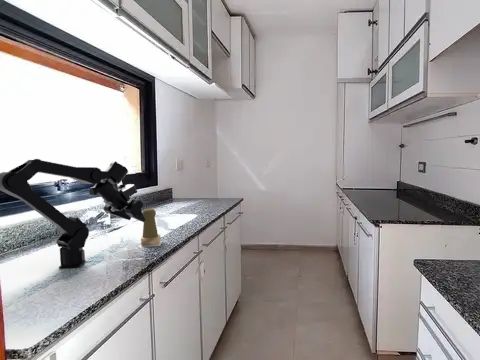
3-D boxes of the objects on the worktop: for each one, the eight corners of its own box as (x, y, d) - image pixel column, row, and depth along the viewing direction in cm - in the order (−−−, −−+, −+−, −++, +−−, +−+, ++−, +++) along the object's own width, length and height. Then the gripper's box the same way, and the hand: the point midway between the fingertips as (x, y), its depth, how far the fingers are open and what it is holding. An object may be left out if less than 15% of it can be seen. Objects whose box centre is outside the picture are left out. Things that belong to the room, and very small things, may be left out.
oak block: (141, 246, 142) (140, 238, 142) (144, 242, 149) (144, 235, 148) (158, 245, 143) (157, 237, 142) (160, 241, 149) (160, 234, 149)
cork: (149, 238, 141) (147, 210, 140) (139, 237, 145) (137, 209, 144) (161, 235, 146) (159, 208, 145) (151, 234, 150) (149, 207, 149)
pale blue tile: (127, 250, 140) (127, 248, 140) (133, 243, 151) (133, 241, 151) (159, 248, 140) (159, 246, 140) (163, 241, 151) (163, 240, 151)
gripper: (138, 177, 130) (164, 205, 139) (109, 177, 142) (135, 202, 151) (119, 201, 124) (147, 228, 133) (91, 199, 136) (118, 224, 145)
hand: (137, 220), depth 141 cm, fingers open, 9 cm apart
